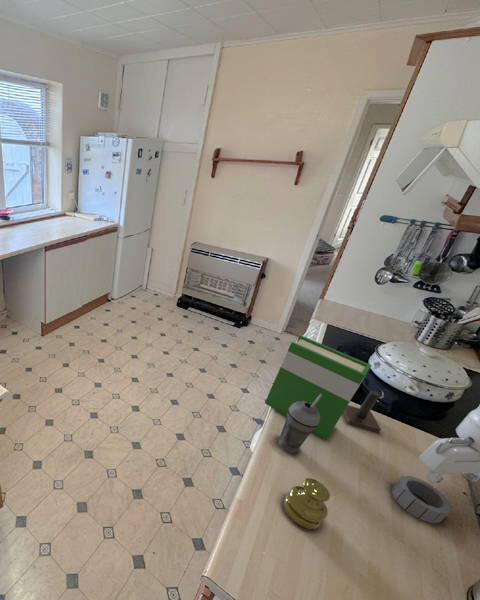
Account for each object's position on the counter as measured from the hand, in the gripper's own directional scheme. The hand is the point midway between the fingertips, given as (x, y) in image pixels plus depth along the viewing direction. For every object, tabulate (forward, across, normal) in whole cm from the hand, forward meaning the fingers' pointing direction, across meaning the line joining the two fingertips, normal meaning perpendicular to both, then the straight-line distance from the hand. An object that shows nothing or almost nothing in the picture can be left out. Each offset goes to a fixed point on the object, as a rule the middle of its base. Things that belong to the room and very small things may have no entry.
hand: (450, 479), depth 74 cm
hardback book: (+9, -14, +28) cm, 32 cm away
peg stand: (+9, +5, +26) cm, 28 cm away
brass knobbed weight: (+10, -34, -1) cm, 36 cm away
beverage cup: (+9, -25, +17) cm, 32 cm away
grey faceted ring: (+9, -4, 0) cm, 10 cm away
